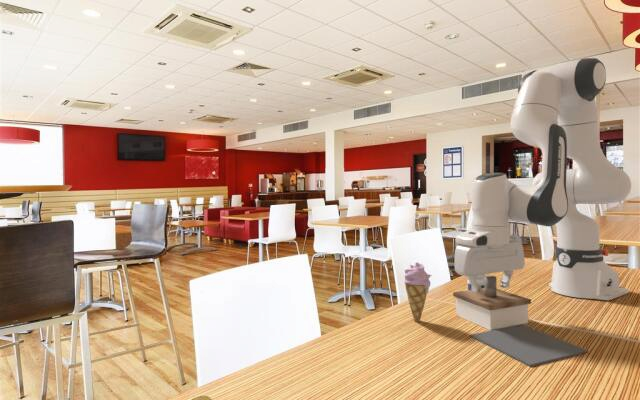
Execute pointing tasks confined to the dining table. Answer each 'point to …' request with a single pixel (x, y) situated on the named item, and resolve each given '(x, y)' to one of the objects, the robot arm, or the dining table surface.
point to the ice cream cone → (417, 288)
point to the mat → (528, 345)
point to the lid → (492, 296)
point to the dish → (492, 315)
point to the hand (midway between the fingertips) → (490, 289)
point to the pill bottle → (478, 281)
